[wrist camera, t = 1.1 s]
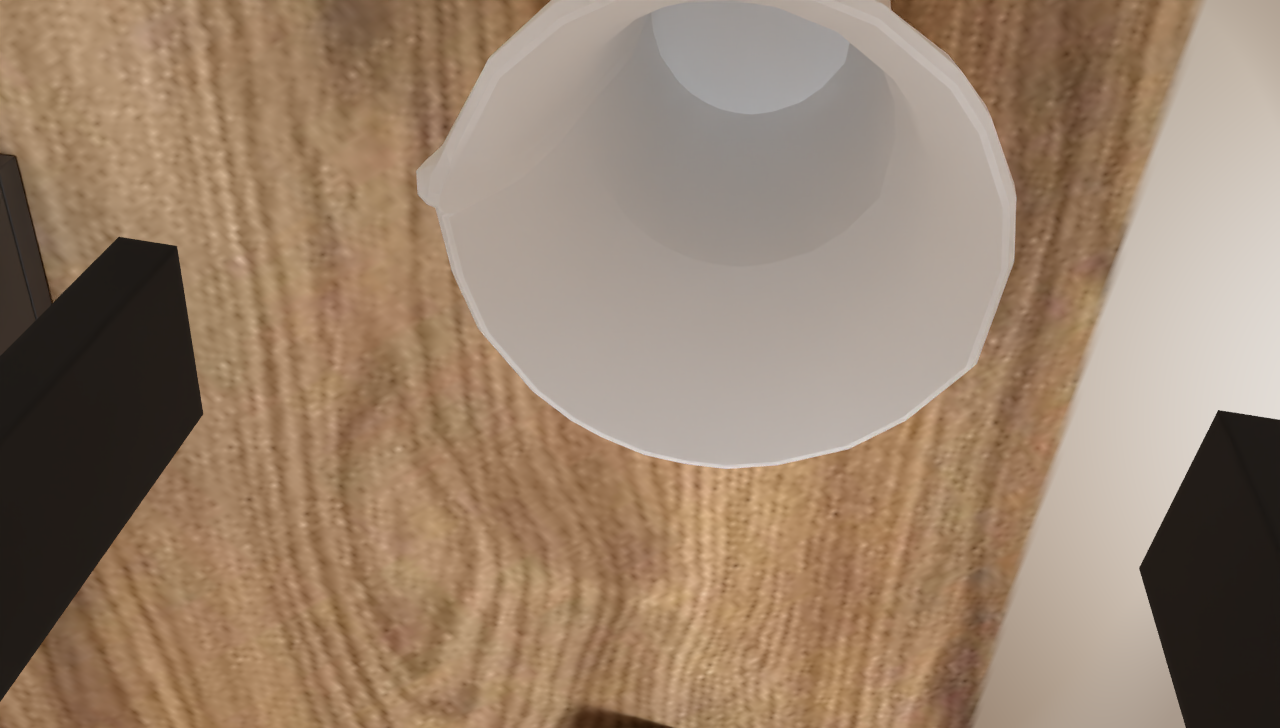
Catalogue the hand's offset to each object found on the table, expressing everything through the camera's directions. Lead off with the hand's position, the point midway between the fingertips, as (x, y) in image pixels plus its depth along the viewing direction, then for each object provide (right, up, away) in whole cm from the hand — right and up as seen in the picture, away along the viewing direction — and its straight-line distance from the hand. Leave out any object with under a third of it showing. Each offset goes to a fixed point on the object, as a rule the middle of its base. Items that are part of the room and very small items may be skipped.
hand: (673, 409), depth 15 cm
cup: (+2, +8, +11) cm, 14 cm away
